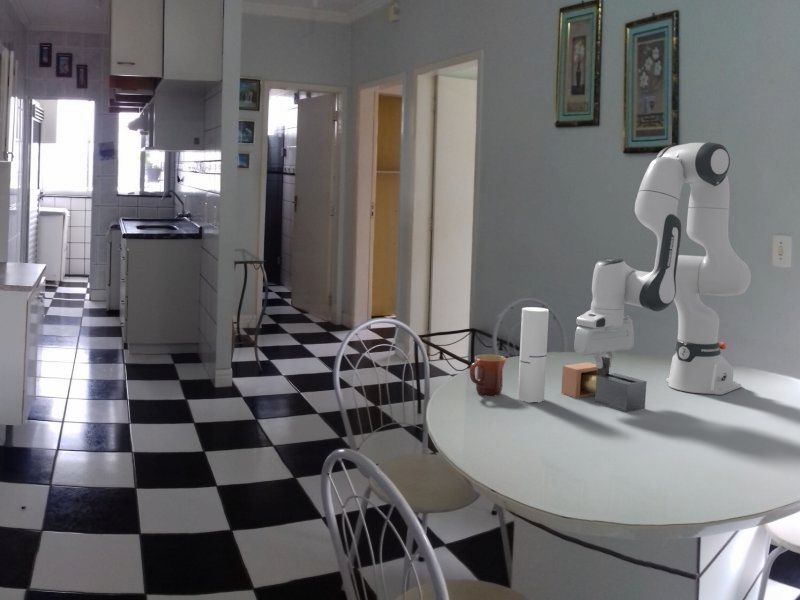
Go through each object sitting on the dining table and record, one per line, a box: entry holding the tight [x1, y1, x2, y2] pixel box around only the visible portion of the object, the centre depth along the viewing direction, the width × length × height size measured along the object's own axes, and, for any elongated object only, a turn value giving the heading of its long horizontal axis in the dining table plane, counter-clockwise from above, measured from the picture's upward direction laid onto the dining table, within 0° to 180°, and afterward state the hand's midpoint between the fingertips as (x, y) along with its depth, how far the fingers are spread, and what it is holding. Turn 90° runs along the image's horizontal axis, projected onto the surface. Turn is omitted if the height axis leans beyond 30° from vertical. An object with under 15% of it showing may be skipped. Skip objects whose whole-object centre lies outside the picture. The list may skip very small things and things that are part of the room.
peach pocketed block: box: [560, 361, 598, 399], centre depth 227 cm, size 10×5×8 cm, turn 124°
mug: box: [469, 354, 507, 397], centre depth 223 cm, size 12×9×10 cm
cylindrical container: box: [517, 306, 550, 403], centre depth 218 cm, size 7×7×25 cm
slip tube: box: [580, 355, 610, 395], centre depth 223 cm, size 5×12×11 cm, turn 34°
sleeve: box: [594, 372, 647, 413], centre depth 215 cm, size 7×11×7 cm
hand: (603, 367), depth 220 cm, fingers closed on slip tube
